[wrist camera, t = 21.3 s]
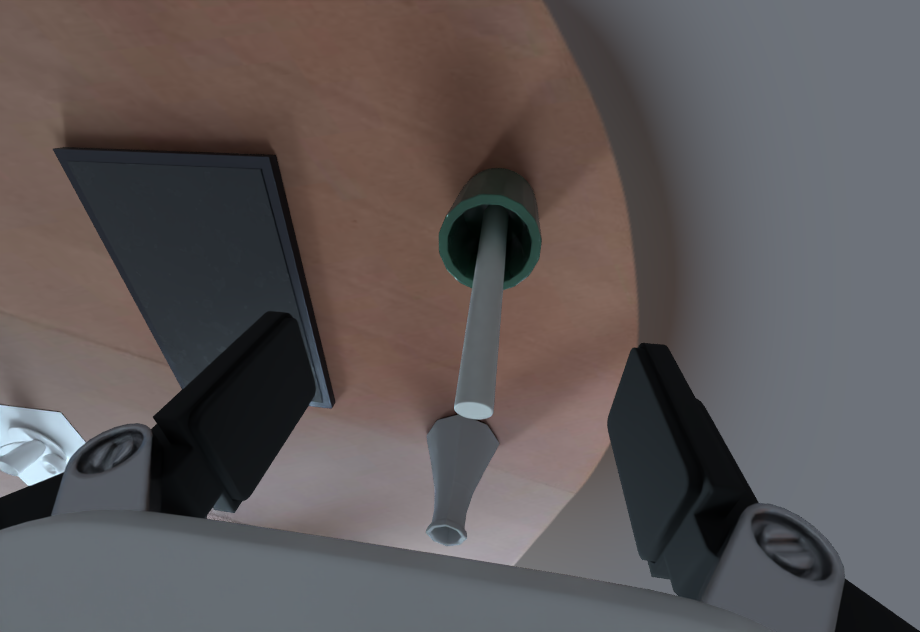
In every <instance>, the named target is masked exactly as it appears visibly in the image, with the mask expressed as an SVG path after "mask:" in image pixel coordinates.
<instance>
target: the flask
mask: <svg viewBox="0 0 920 632" xmlns="http://www.w3.org/2000/svg"><path fill="white" fill-rule="evenodd" d="M427 443H428V448H429V454H430V459H431V465H432V473H433V480H434V487H435V504H434V514H433V519H432V523H431V524H430V525H429V526H428V528H427V530H426V533H427V534H428V536H429V537H430V538H431V539H432V540H433V541H435V542H438V543H440V544H443V545H445V546H453V545H460V544H461V543H462V542H463V541H465V540H466V539H467V532H466V531H465V529H464V527H465V519H466V513H467V510H468V507H469V504H470V501H471V498H472V495H473V493H474V491H475V489H476V487H477V485H478V483H479V481H480V479H481V477H482V475H483V473H484V471H485V469H486V467H487V466H488V464H489V462H490V460H491V458H492V457H493V455H494V453H495V451H496V449H497V447H498V446H499V442H498V441H497V439H496V438H495V436H494V434H493V433H492V431H491V430H490V428H489V427H488V425H486V424H484V423H481V422H479V421H477V420H475V419H470V418H466V417H463V416H461V415H455V416H451V417H448V418H444V419H440V420H437V421H436V423H435V424H434V426H433V427H432V429H431V430H430V431H429V433H428V434H427Z"/></svg>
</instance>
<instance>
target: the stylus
mask: <svg viewBox="0 0 920 632" xmlns="http://www.w3.org/2000/svg"><path fill="white" fill-rule="evenodd" d="M508 217H509V214H508V211H507V209H506V208H505V207H503V206H501V205H490V204H489V206H488V207H487V208H486V209H485V211H484V214H483V221H482V227H481V234H480V241H479V247H478V254H477V260H476V267H475V273H474V280H473V286H472V293H471V300H470V306H469V313H468V319H467V326H466V332H465V339H464V345H463V352H462V359H461V365H460V372H459V378H458V385H457V391H456V398H455V404H454V409H455V411H456V412H457V413H458V414H459V415H461V416H463V417H466V418H470V419H486V418H489V417H490V416H492V414H493V411H494V399H495V386H496V373H497V360H498V347H499V334H500V321H501V308H502V295H503V282H504V269H505V256H506V243H507V230H508Z"/></svg>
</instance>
